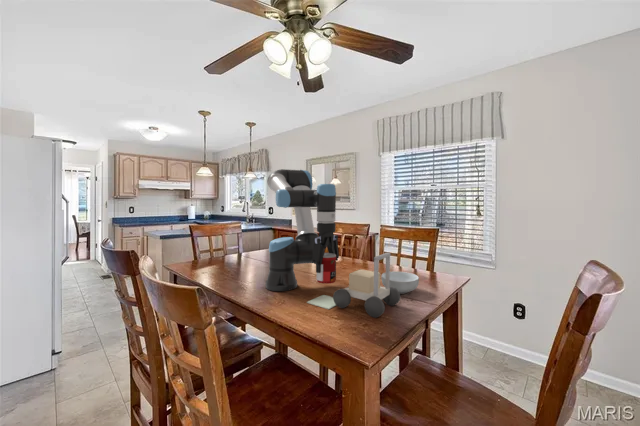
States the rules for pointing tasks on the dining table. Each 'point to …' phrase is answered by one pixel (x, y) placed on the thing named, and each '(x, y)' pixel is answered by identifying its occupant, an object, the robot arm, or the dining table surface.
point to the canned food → (329, 268)
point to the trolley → (369, 289)
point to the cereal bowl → (402, 281)
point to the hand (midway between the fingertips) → (326, 278)
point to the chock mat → (323, 302)
